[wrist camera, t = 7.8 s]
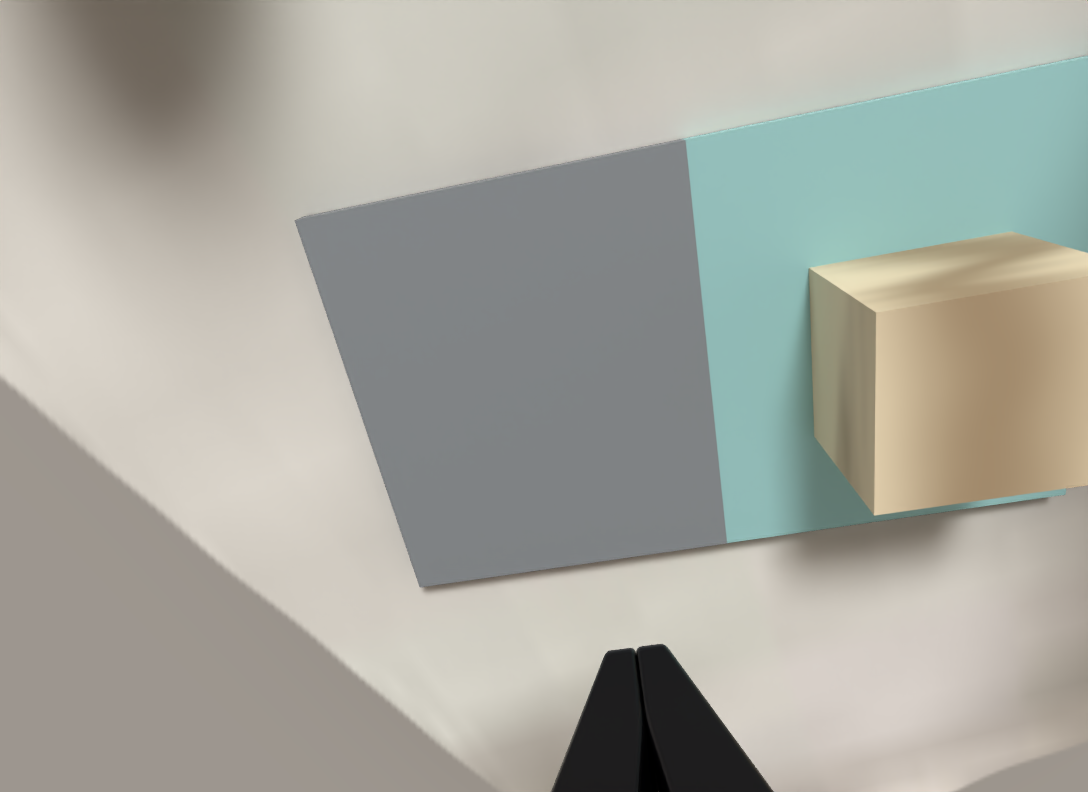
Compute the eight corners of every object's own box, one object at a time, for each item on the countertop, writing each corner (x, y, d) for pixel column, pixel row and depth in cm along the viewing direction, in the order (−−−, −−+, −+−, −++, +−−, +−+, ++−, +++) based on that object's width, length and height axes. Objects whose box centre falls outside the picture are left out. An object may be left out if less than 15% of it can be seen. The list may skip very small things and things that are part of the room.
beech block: (1011, 231, 17) (1138, 267, 13) (995, 408, 19) (1102, 483, 15) (808, 267, 17) (876, 312, 13) (814, 436, 19) (874, 515, 15)
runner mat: (1109, 51, 15) (1129, 49, 15) (1052, 484, 20) (1066, 495, 20) (302, 216, 17) (294, 220, 17) (423, 575, 22) (420, 587, 22)
